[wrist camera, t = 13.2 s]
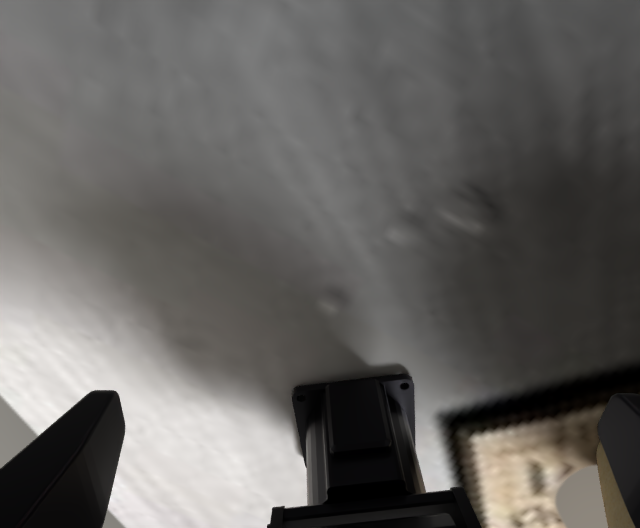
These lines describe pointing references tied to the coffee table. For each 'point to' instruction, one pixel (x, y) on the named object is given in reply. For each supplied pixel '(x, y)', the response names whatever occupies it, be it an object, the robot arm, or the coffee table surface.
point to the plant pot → (611, 494)
